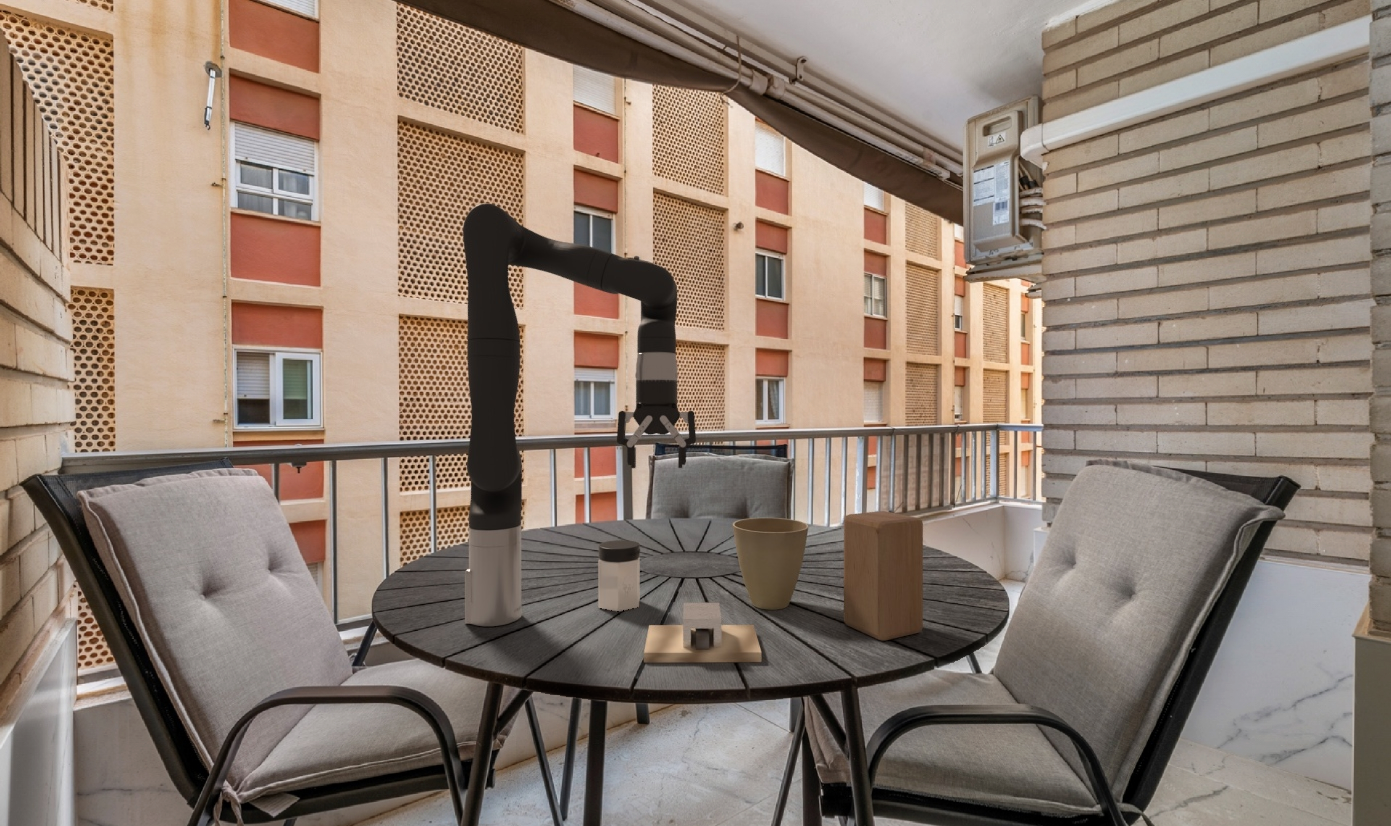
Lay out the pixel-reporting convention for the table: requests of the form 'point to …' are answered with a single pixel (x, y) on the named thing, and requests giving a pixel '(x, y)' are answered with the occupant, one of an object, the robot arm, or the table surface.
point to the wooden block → (883, 574)
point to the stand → (702, 645)
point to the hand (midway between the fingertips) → (656, 467)
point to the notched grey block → (701, 621)
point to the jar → (619, 575)
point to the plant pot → (770, 558)
